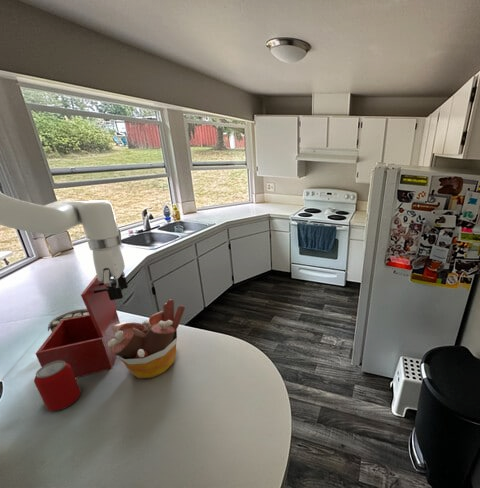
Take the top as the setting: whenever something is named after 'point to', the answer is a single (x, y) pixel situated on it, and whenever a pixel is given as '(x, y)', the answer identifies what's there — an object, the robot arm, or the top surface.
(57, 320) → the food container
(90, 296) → the lid
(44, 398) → the beverage can
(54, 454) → the top surface
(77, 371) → the red hinged box
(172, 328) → the bucket of meat
